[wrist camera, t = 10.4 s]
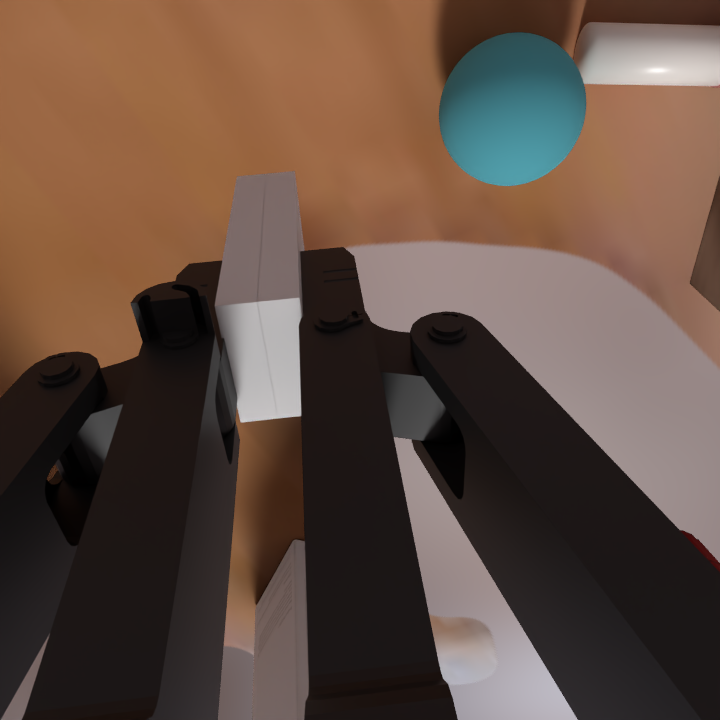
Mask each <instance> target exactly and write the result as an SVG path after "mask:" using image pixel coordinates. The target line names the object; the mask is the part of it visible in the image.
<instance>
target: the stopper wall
mask: <svg viewBox="0 0 720 720" xmlns="http://www.w3.org/2000/svg"><path fill="white" fill-rule="evenodd" d="M690 284H691V285H692V286H693V287H694V288H695V289H696V290H697V291H698V292H699V293H700V294H701V295H703V296H704V297H705V298H706V299H707V300H708V301H709V302H710V303H711V304H712V305H713V306H714V307H715V308H716V309H717V310H719V311H720V178H719V182H718V185H717V189H716V193H715V196H714V200H713V203H712V207H711V210H710V214H709V217H708V221H707V225H706V228H705V232H704V235H703V239H702V242H701V246H700V250H699V253H698V257H697V260H696V264H695V267H694V271H693V275H692V278H691V282H690Z"/></svg>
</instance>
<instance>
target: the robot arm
mask: <svg viewBox="0 0 720 720" xmlns="http://www.w3.org/2000/svg"><path fill="white" fill-rule="evenodd" d="M131 306H132V309H133V313H134V316H135V319H136V322H137V325H138V328H139V332H140V335H141V338H142V341H143V343H142V346H141V349H140V352H139V356H137V357H135V358H133V359H130V360H127V361H124V362H121V363H118V364H114V365H111V366H108V367H104V368H100V366H99V363H98V360H97V358H95V357H94V356H92V355H91V354H89V353H83V352H67V353H66V352H65V353H59V354H57V355H52V356H49V357H47V358H46V359H44V360H42V361H40V362H38V363H36V364H34V365H33V366H32V367H30V368H29V369H28V370H27V371H25V372H24V373H23V374H22V375H21V377H20V378H19V379H18V380H17V381H16V382H15V383H14V384H13V385H12V386H11V387H10V388H9V389H8V391H7V392H6V393H5V394H4V395H3V396H2V397H1V398H0V720H1V719H2V717H3V715H4V713H5V711H6V710H7V708H8V706H9V704H10V703H11V701H12V699H13V697H14V696H15V694H16V692H17V690H18V689H19V687H20V685H21V683H22V682H23V680H24V678H25V676H26V674H27V673H28V671H29V669H30V667H31V666H32V664H33V662H34V660H35V659H36V657H37V655H38V653H39V652H40V650H41V648H42V646H43V645H44V643H45V641H46V639H47V637H48V636H49V638H48V641H47V644H46V647H45V650H44V654H43V657H42V660H41V663H40V666H39V669H38V672H37V676H36V679H35V682H34V685H33V688H32V691H31V694H30V698H29V701H28V704H27V707H26V710H25V713H24V715H23V718H22V720H218V707H219V695H220V682H221V670H222V658H223V657H222V656H223V645H224V633H225V620H226V607H227V595H228V582H229V570H230V557H231V544H232V532H233V519H234V507H235V494H236V481H237V469H238V456H239V444H240V439H239V434H238V430H237V425H236V421H235V419H236V408H238V412H239V417H240V421H241V422H250V421H259V420H268V419H277V418H287V417H296V416H301V425H302V461H303V496H304V531H305V567H306V602H307V638H308V673H309V691H308V697H307V699H306V701H305V714H304V720H458V719H457V715H456V711H455V707H454V702H453V698H452V695H451V692H450V689H449V686H448V684H447V683H446V681H445V680H444V679H443V677H442V674H441V671H440V666H439V662H438V657H437V652H436V647H435V642H434V637H433V632H432V627H431V622H430V617H429V612H428V607H427V603H426V597H425V592H424V588H423V582H422V577H421V572H420V567H419V562H418V558H417V552H416V547H415V543H414V537H413V532H412V527H411V522H410V517H409V513H408V508H407V502H406V497H405V492H404V487H403V483H402V477H401V472H400V467H399V462H398V458H397V453H396V447H395V443H394V437H398V438H406V439H412V443H413V447H414V450H415V451H416V453H417V455H418V456H419V458H420V460H421V461H422V463H423V465H424V466H425V468H426V470H427V471H428V473H429V474H430V476H431V478H432V479H433V481H434V483H435V484H436V486H437V488H438V489H439V491H440V492H441V494H442V496H443V498H444V499H445V501H446V503H447V504H448V506H449V508H450V509H451V511H452V512H453V514H454V516H455V517H456V519H457V521H458V522H459V524H460V526H461V527H462V529H463V531H464V532H465V534H466V535H467V537H468V539H469V541H470V542H471V544H472V546H473V547H474V549H475V550H476V552H477V553H478V555H479V557H480V558H481V560H482V562H483V564H484V565H485V567H486V569H487V570H488V572H489V574H490V575H491V577H492V578H493V580H494V582H495V583H496V585H497V587H498V588H499V590H500V592H501V593H502V595H503V597H504V598H505V600H506V602H507V603H508V605H509V607H510V608H511V610H512V611H513V613H514V615H515V617H516V618H517V620H518V621H519V623H520V625H521V626H522V628H523V630H524V631H525V633H526V635H527V636H528V638H529V639H530V641H531V643H532V645H533V646H534V648H535V650H536V651H537V653H538V655H539V656H540V658H541V659H542V661H543V663H544V664H545V666H546V668H547V669H548V671H549V673H550V674H551V676H552V678H553V679H554V681H555V683H556V684H557V686H558V687H559V689H560V691H561V692H562V694H563V696H564V697H565V699H566V701H567V702H568V704H569V706H570V707H571V709H572V710H573V712H574V714H575V715H576V717H577V719H578V720H720V572H719V571H718V570H717V569H716V568H715V567H714V566H713V564H712V563H711V562H710V561H709V560H708V559H707V558H706V557H705V556H704V555H703V554H702V553H701V552H700V551H699V550H698V549H697V548H696V547H695V546H694V545H693V544H692V543H691V542H690V540H689V539H688V538H687V537H686V536H685V535H684V534H683V533H682V532H681V531H680V530H679V529H678V528H677V527H676V526H675V525H674V524H673V523H672V522H671V521H670V520H669V519H668V518H667V517H666V516H665V514H664V513H663V512H662V511H661V510H660V509H659V508H658V507H657V506H656V505H655V504H654V503H653V502H652V501H651V500H650V499H649V498H648V497H647V496H646V495H645V494H644V493H643V491H642V490H641V489H640V488H639V487H638V486H637V485H636V484H635V483H634V482H633V481H632V480H631V479H630V478H629V477H628V476H627V475H626V474H625V473H624V472H623V471H622V470H621V469H620V467H619V466H618V465H617V464H616V463H614V461H613V460H612V459H611V458H610V457H609V456H608V455H607V454H606V453H605V452H604V451H603V450H602V449H601V448H600V447H599V446H598V445H597V444H596V442H594V440H593V439H592V438H591V437H590V436H589V435H588V434H587V433H586V432H585V431H584V430H583V429H582V428H581V427H580V426H579V425H578V424H577V423H576V422H575V421H574V420H573V419H572V417H570V415H569V414H568V413H567V412H566V411H565V410H564V409H563V408H562V407H561V406H560V405H559V404H558V403H557V402H556V401H555V400H554V399H553V398H552V397H551V396H550V394H549V393H548V392H547V391H546V390H545V389H544V388H543V387H542V386H541V385H540V384H539V383H538V382H537V381H536V380H535V379H534V378H533V377H532V376H531V375H530V374H529V373H528V372H527V371H526V369H524V368H523V366H522V365H521V364H520V363H518V361H517V360H516V359H515V358H514V357H513V356H512V355H511V354H510V353H509V352H508V351H507V350H506V349H505V348H504V347H503V346H502V344H501V343H500V342H499V341H498V340H497V339H496V338H495V337H494V336H493V335H492V334H491V333H490V332H489V331H488V330H487V329H486V328H485V327H484V326H483V325H482V324H481V323H480V322H479V321H477V320H476V319H474V318H473V317H471V316H468V315H465V314H461V313H457V312H439V313H432V314H429V315H426V316H424V317H421V318H420V319H418V320H417V321H416V322H415V323H414V324H413V325H412V328H411V331H410V333H408V332H398V331H392V330H387V329H384V328H381V327H379V326H377V325H375V324H374V323H372V322H371V321H370V318H369V316H368V315H367V313H366V312H365V309H364V304H363V298H362V293H361V288H360V283H359V279H358V273H357V268H356V263H355V258H354V256H353V255H352V254H351V253H350V252H348V251H347V250H346V249H345V248H344V247H340V248H329V249H319V250H309V251H304V244H303V235H302V227H301V219H300V211H299V203H298V194H297V186H296V178H295V171H292V172H281V173H270V174H259V175H248V176H238V177H237V180H236V186H235V191H234V197H233V203H232V209H231V214H230V220H229V226H228V232H227V237H226V243H225V249H224V255H223V260H222V261H213V262H202V263H192V264H189V265H188V266H186V267H185V268H184V269H183V270H182V271H181V272H180V273H179V274H178V275H177V277H176V281H173V282H167V283H162V284H158V285H156V286H153V287H150V288H148V289H146V290H144V291H143V292H141V293H139V294H138V295H136V297H135V298H134V299H133V301H132V302H131ZM54 464H55V465H56V467H57V469H58V471H57V472H56V474H55V475H54V477H53V478H52V479H51V480H50V481H48V480H47V477H48V475H49V472H50V470H51V469H52V467H53V466H54ZM49 634H50V635H49Z"/></svg>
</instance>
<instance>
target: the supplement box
mask: <svg viewBox="0 0 720 720" xmlns="http://www.w3.org/2000/svg"><path fill="white" fill-rule="evenodd" d="M308 691H309V673H308V638H307V602H306V567H305V541H301V540H293V542H292V543H291V545H290V547H289V549H288V550H287V552H286V554H285V556H284V558H283V559H282V561H281V563H280V565H279V567H278V568H277V570H276V572H275V574H274V575H273V577H272V579H271V581H270V583H269V584H268V586H267V588H266V590H265V591H264V593H263V595H262V597H261V599H260V600H259V602H258V604H257V606H256V610H255V642H254V673H253V707H252V708H253V710H252V720H304V714H305V701H306V699H307V697H308Z"/></svg>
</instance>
